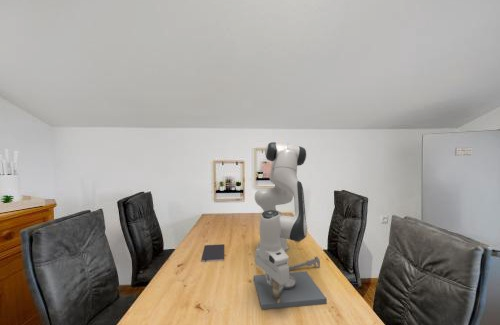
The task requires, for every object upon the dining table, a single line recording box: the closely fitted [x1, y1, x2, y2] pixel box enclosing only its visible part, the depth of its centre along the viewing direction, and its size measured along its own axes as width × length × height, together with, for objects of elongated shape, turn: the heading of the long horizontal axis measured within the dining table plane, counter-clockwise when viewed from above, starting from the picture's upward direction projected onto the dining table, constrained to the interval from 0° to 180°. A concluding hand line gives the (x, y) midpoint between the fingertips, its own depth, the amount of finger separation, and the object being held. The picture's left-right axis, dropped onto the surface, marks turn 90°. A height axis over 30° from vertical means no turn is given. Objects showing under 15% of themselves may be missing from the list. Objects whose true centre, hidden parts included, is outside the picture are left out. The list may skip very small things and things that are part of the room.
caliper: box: [289, 255, 321, 272], centre depth 113 cm, size 20×1×6 cm, turn 100°
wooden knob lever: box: [273, 275, 295, 298], centre depth 92 cm, size 15×8×7 cm, turn 147°
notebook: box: [200, 243, 225, 263], centre depth 133 cm, size 13×2×21 cm
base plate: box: [253, 271, 328, 311], centre depth 95 cm, size 21×26×2 cm
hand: (270, 284), depth 90 cm, fingers closed
